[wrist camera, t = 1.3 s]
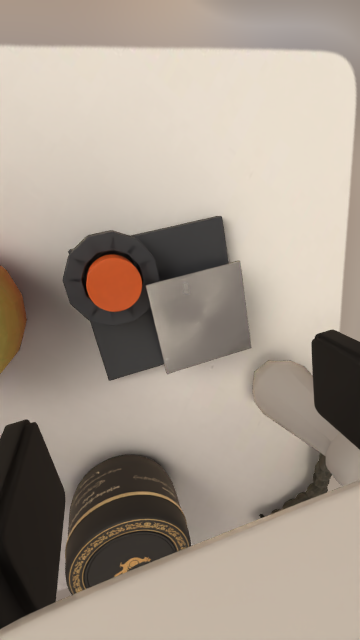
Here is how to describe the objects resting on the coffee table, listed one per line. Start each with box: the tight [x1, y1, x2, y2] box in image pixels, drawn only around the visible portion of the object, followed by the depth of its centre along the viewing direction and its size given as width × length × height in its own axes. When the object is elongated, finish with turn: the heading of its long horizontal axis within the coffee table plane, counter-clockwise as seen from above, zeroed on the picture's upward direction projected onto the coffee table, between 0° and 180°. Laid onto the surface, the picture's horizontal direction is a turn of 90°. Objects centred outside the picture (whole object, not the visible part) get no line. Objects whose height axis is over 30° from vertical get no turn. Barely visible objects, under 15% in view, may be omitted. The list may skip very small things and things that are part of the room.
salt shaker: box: [252, 360, 360, 486], centre depth 27 cm, size 6×6×13 cm
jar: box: [65, 455, 191, 595], centre depth 28 cm, size 10×10×8 cm
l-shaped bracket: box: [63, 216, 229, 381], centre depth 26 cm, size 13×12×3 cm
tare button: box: [86, 254, 142, 312], centre depth 22 cm, size 4×4×2 cm
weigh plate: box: [145, 261, 251, 374], centre depth 25 cm, size 7×7×1 cm
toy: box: [259, 453, 332, 518], centre depth 37 cm, size 15×5×3 cm, turn 142°
